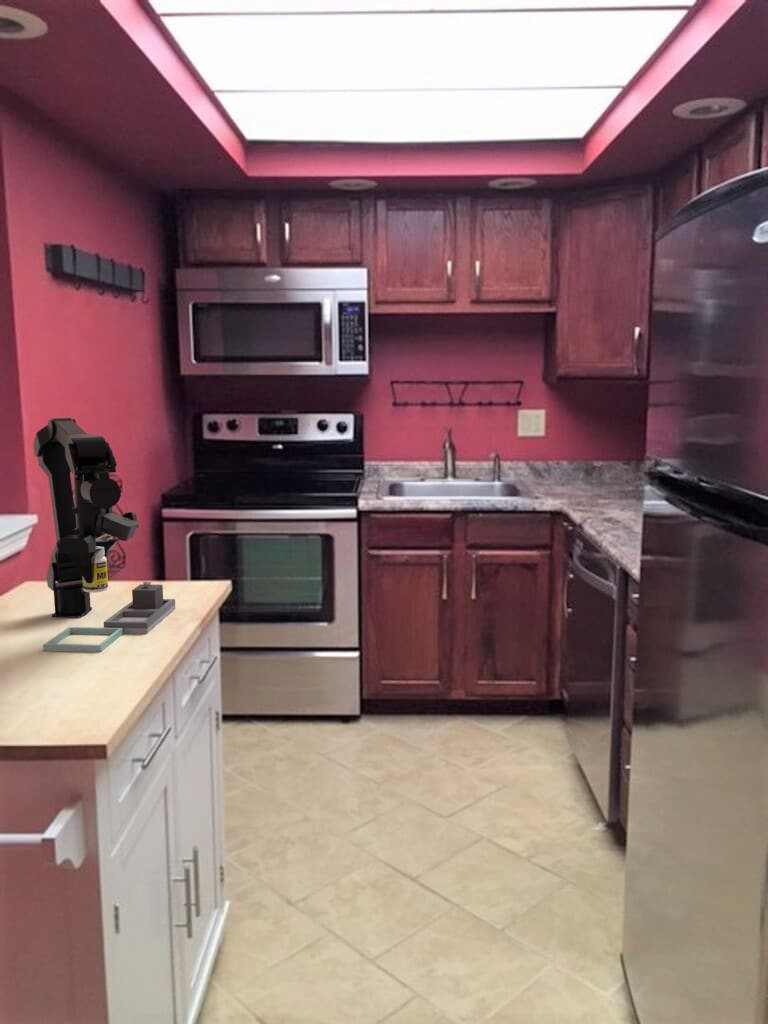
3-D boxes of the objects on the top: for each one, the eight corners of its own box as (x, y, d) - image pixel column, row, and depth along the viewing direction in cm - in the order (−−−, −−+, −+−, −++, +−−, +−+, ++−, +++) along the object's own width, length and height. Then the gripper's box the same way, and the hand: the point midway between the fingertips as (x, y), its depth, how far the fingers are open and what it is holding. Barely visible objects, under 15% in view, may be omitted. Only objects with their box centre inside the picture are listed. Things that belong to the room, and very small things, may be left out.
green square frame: (43, 650, 159) (43, 644, 159) (69, 632, 170) (68, 626, 170) (101, 651, 159) (100, 645, 158) (123, 633, 170) (122, 627, 169)
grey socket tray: (104, 632, 170) (103, 622, 170) (136, 608, 188) (135, 598, 188) (147, 633, 170) (147, 622, 169) (175, 608, 187) (175, 599, 187)
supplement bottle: (100, 593, 163) (97, 551, 161) (78, 592, 164) (75, 550, 162) (113, 587, 168) (110, 546, 166) (91, 586, 169) (89, 545, 167)
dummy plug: (133, 612, 181) (131, 584, 180) (141, 606, 186) (140, 579, 185) (156, 613, 180) (154, 585, 179) (163, 606, 185) (162, 579, 184)
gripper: (111, 510, 153) (115, 593, 156) (148, 494, 171) (152, 569, 174) (52, 509, 154) (57, 591, 157) (96, 494, 172) (100, 568, 175)
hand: (95, 579), depth 165 cm, fingers closed on supplement bottle, 5 cm apart
